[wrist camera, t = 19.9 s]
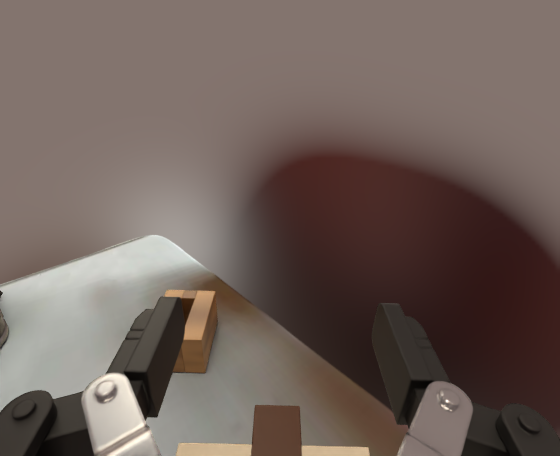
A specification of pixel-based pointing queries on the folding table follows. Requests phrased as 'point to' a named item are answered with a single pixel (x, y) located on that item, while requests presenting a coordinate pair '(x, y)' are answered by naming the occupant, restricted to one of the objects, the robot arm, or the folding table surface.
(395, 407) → the robot arm
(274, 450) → the knife
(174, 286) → the folding table surface
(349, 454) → the cake
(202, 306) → the knife stand
